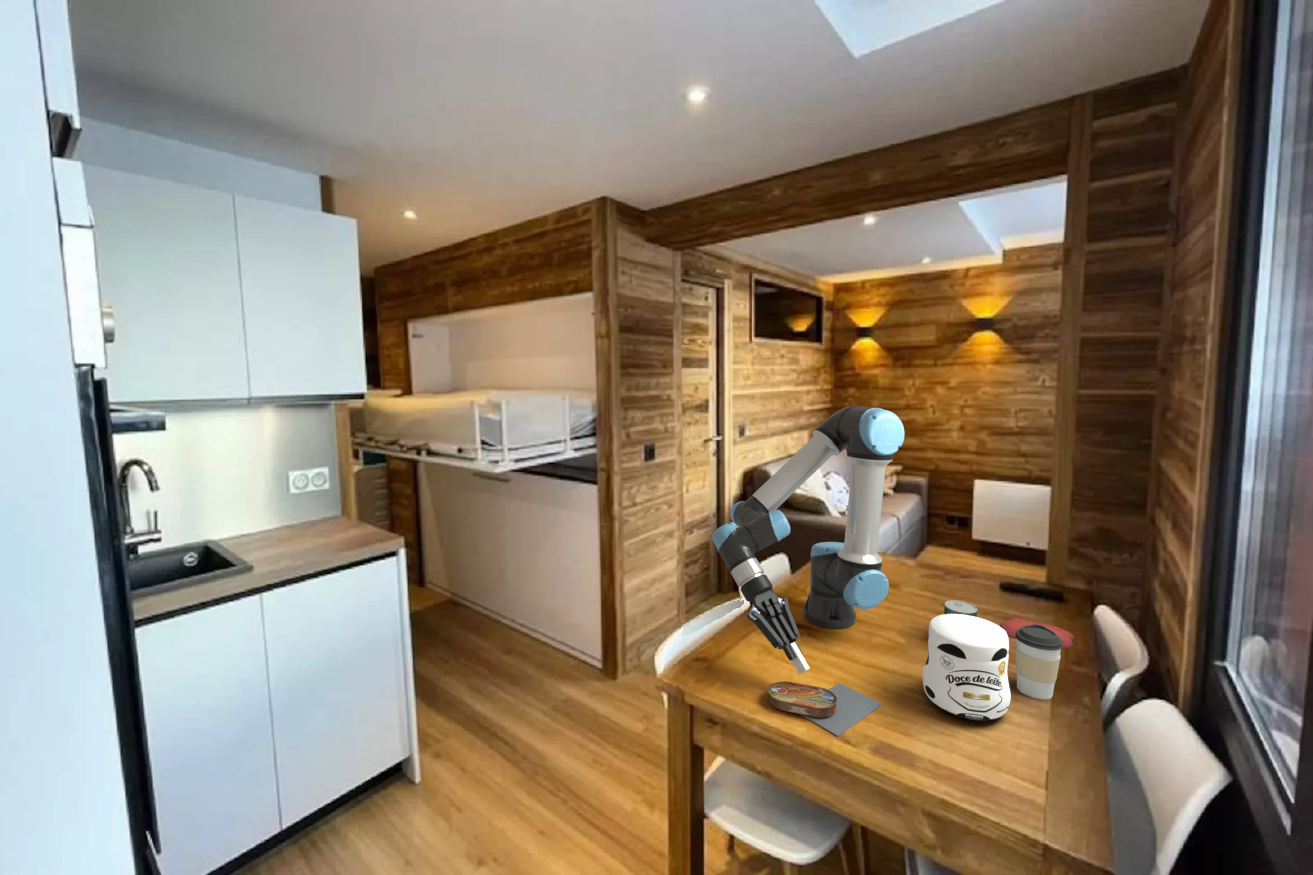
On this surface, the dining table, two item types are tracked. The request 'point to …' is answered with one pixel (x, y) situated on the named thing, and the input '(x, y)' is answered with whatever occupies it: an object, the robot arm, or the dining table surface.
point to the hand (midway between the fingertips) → (804, 671)
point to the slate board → (846, 710)
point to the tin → (802, 699)
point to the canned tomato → (960, 608)
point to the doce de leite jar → (967, 667)
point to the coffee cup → (1037, 660)
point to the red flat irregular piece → (1018, 623)
